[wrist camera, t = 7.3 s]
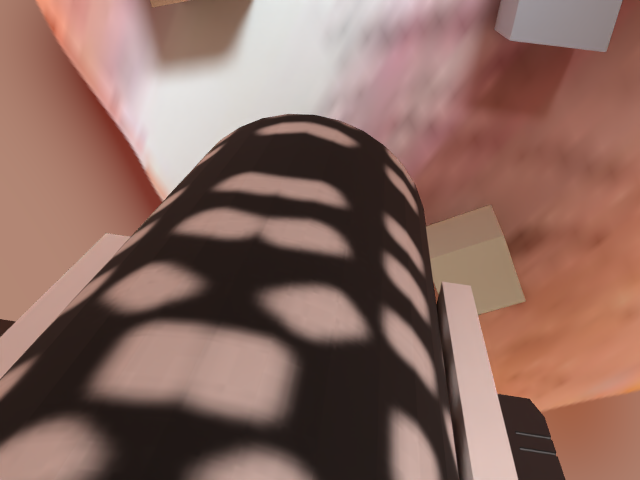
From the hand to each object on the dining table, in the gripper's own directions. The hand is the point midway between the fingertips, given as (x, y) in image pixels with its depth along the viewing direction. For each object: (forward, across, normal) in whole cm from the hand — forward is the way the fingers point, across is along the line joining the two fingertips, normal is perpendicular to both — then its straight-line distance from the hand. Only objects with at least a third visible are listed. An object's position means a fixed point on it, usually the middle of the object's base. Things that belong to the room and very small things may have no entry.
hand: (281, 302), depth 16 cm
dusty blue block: (+24, +11, +8) cm, 28 cm away
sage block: (+24, +10, -9) cm, 28 cm away
